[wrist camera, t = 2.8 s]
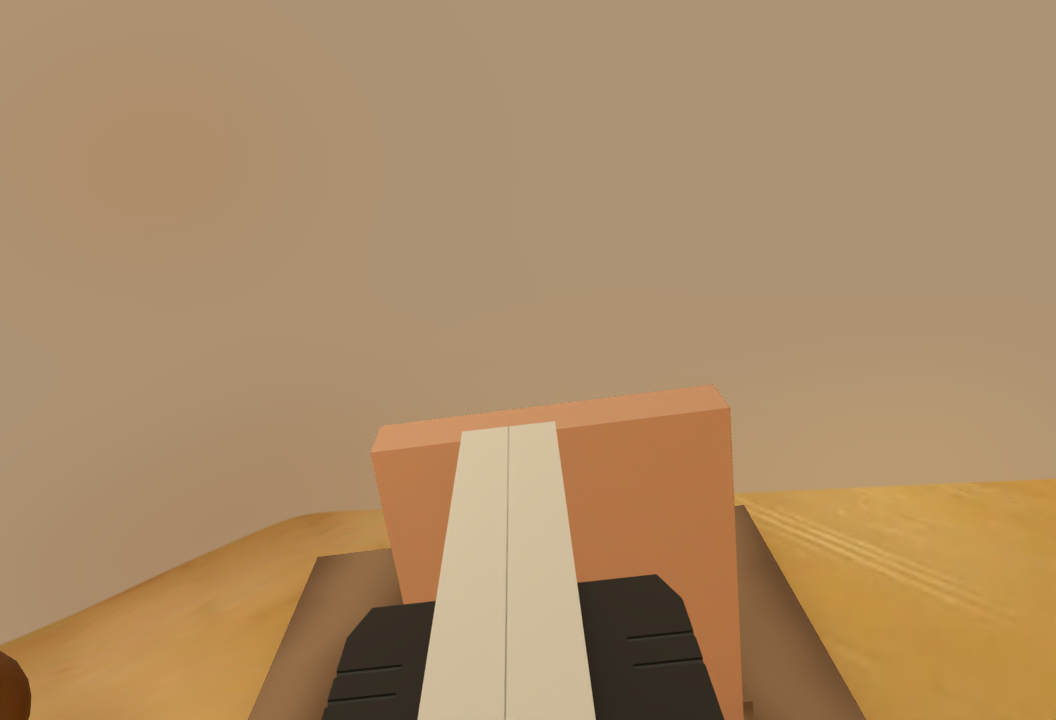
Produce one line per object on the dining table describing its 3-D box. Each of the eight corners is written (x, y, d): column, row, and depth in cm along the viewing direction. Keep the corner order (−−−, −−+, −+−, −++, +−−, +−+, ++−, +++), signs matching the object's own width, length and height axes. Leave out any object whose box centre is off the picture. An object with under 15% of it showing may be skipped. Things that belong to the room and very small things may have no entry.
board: (744, 523, 42) (743, 486, 41) (951, 902, 22) (956, 844, 21) (322, 575, 43) (313, 538, 42) (155, 989, 23) (131, 935, 22)
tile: (729, 739, 27) (710, 380, 23) (746, 790, 25) (730, 407, 21) (456, 771, 27) (382, 421, 23) (451, 823, 25) (370, 452, 21)
